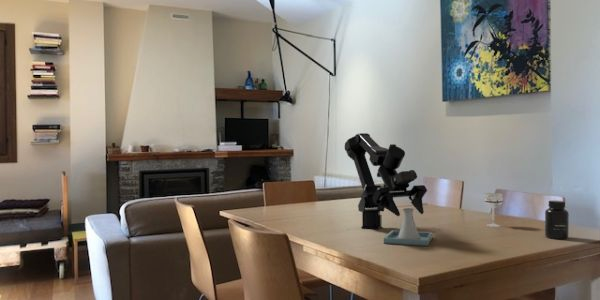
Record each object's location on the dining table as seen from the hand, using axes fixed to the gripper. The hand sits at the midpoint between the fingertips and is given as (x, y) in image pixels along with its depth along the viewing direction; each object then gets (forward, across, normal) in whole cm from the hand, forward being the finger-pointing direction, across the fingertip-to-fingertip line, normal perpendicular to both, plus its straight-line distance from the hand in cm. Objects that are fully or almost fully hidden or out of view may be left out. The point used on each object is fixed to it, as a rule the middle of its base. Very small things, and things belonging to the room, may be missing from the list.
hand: (411, 214), depth 151 cm
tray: (+5, 0, +7) cm, 9 cm away
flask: (+5, 0, +7) cm, 9 cm away
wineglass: (0, +44, +13) cm, 46 cm away
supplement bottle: (+18, +45, -6) cm, 49 cm away
